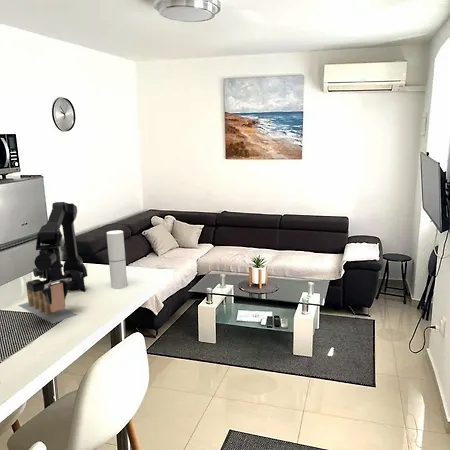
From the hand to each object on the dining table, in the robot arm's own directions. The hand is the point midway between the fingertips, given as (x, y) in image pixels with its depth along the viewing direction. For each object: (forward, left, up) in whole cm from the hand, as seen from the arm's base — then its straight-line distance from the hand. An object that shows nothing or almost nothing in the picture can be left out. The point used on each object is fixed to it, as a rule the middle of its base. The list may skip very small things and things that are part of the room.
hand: (57, 301), depth 164 cm
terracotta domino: (0, 0, -3) cm, 3 cm away
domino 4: (+2, -4, -5) cm, 7 cm away
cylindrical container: (-25, -27, -6) cm, 37 cm away
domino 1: (+9, -15, -5) cm, 19 cm away
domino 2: (+7, -12, -5) cm, 15 cm away
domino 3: (+5, -8, -5) cm, 11 cm away
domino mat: (+5, -8, -6) cm, 11 cm away
